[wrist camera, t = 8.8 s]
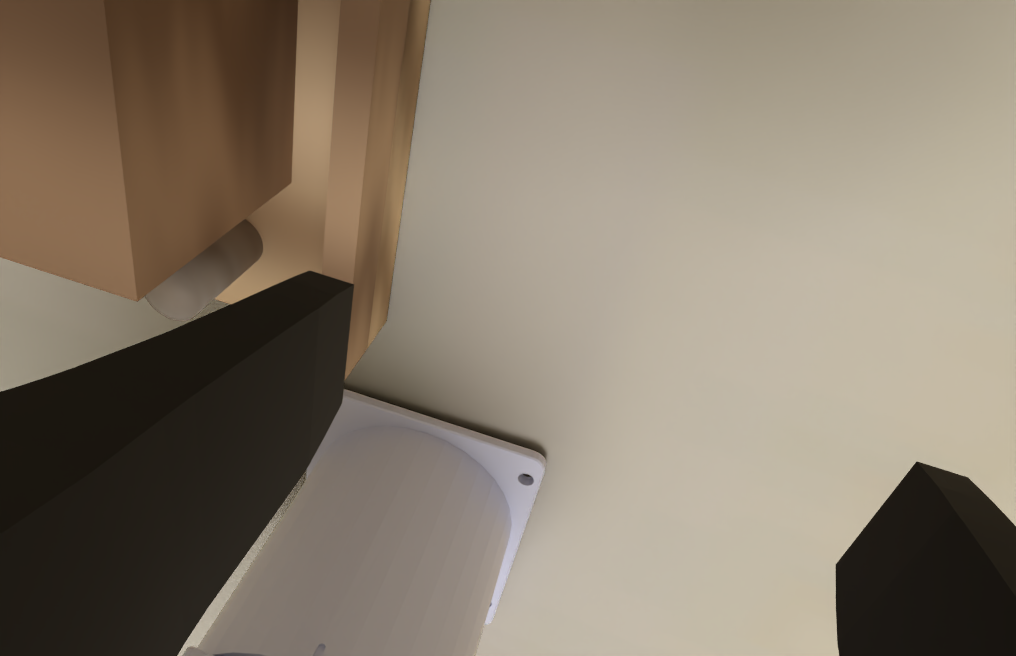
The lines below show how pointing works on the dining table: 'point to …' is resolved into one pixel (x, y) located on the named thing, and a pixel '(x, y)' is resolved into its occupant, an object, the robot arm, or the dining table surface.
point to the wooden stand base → (329, 170)
